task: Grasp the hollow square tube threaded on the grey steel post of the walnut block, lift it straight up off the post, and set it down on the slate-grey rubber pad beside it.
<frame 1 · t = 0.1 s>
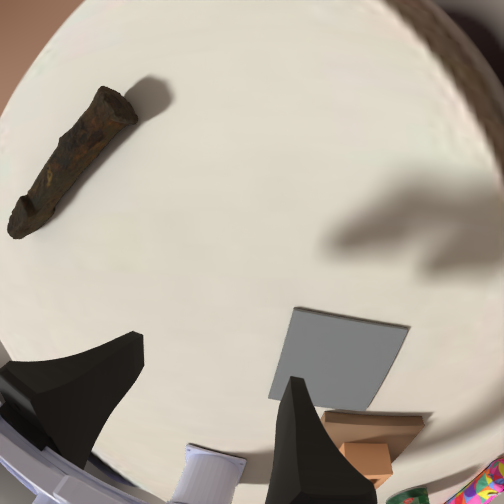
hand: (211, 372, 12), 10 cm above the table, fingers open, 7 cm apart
post block: (355, 446, 25), on the table
pencil case: (470, 482, 28), on the table
canned tomato: (406, 494, 29), on the table
hollow square tube: (356, 455, 24), point 1 cm above the table, touching post block
hand tool: (74, 180, 22), on the table
pad: (335, 366, 22), on the table
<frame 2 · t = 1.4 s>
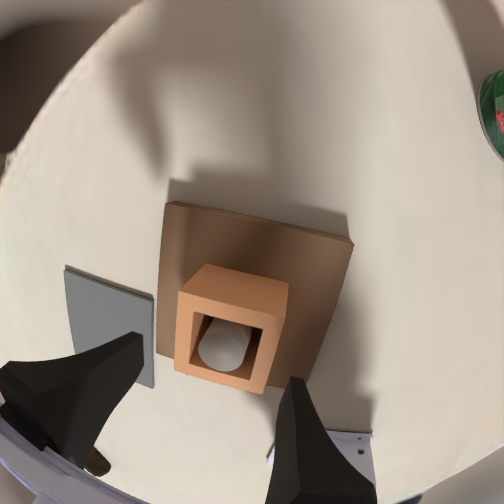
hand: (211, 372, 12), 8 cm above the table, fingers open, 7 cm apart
post block: (243, 300, 20), on the table
hollow square tube: (239, 310, 19), point 1 cm above the table, touching post block
hand tool: (75, 428, 33), on the table
pad: (107, 330, 23), on the table
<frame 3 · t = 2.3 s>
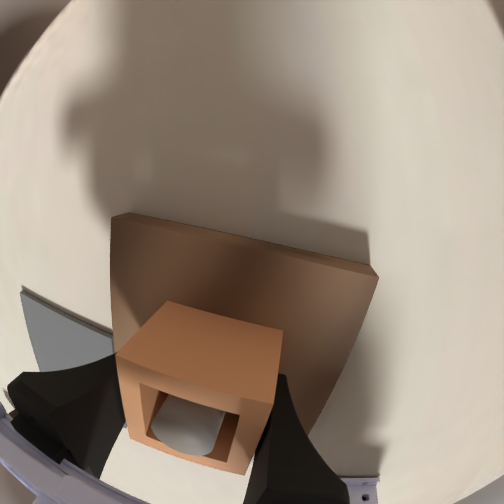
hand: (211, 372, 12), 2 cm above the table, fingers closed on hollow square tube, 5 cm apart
post block: (223, 345, 14), on the table
hollow square tube: (216, 361, 13), point 1 cm above the table, touching gripper, post block
pad: (71, 363, 18), on the table
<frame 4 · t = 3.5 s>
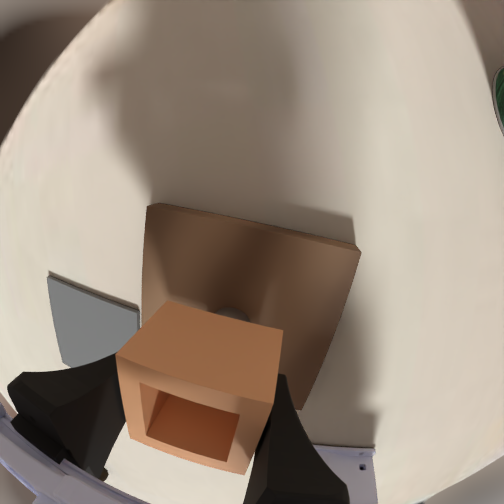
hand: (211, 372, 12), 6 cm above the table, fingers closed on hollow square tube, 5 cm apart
post block: (236, 313, 18), on the table
hollow square tube: (216, 361, 13), point 5 cm above the table, touching gripper
pad: (93, 341, 21), on the table
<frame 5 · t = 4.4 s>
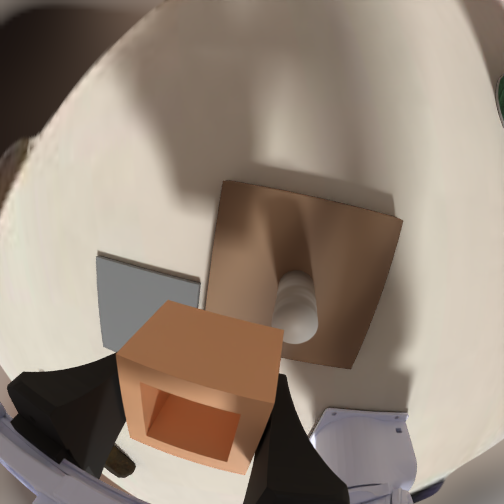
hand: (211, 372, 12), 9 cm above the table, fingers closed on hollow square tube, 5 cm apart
post block: (296, 279, 20), on the table
hollow square tube: (216, 361, 13), point 9 cm above the table, touching gripper
hand tool: (95, 428, 33), on the table
pad: (144, 319, 23), on the table
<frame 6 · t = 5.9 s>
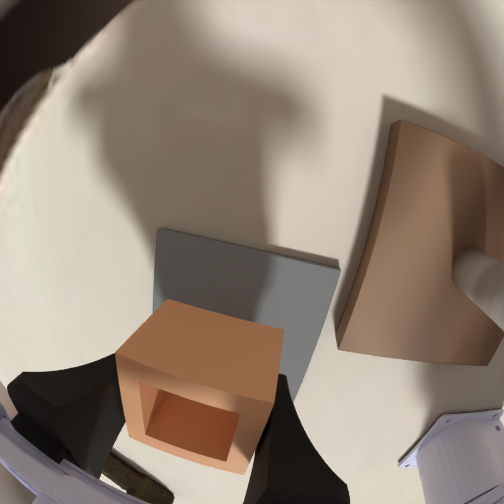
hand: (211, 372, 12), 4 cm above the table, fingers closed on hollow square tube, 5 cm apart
post block: (456, 260, 13), on the table
hollow square tube: (216, 360, 13), point 3 cm above the table, touching gripper
hand tool: (121, 456, 26), on the table
pad: (232, 327, 16), on the table
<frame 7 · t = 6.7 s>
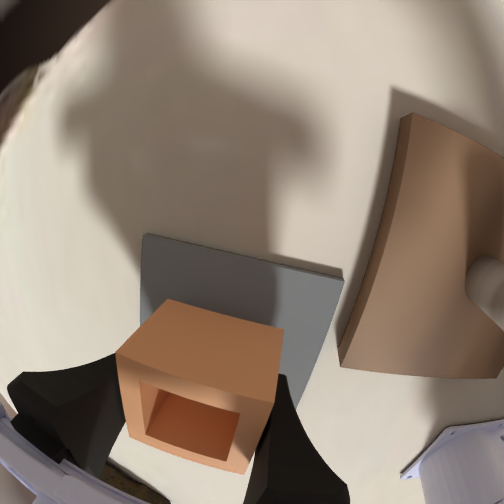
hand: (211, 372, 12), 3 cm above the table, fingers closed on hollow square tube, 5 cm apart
post block: (468, 269, 12), on the table
hollow square tube: (216, 360, 13), point 2 cm above the table, touching gripper
hand tool: (116, 464, 24), on the table
pad: (225, 341, 15), on the table
when the fingers open (3 cm above the table, at t = 7.2 s): hollow square tube drops 1 cm, resting on pad.
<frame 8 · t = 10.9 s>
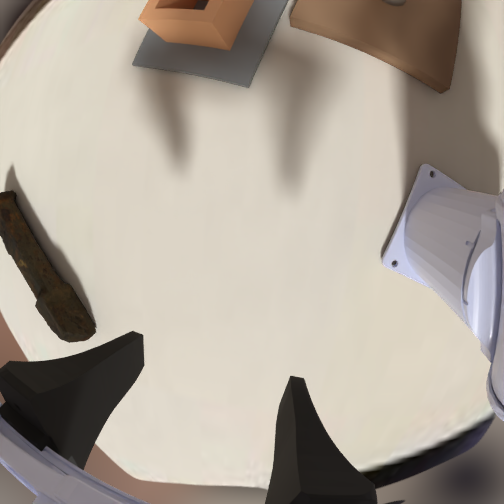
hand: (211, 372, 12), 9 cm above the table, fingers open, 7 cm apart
post block: (385, 3, 13), on the table
hollow square tube: (209, 18, 15), resting on pad
hand tool: (49, 256, 24), on the table
pad: (210, 21, 16), on the table
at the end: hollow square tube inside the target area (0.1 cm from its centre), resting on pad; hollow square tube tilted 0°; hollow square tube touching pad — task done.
